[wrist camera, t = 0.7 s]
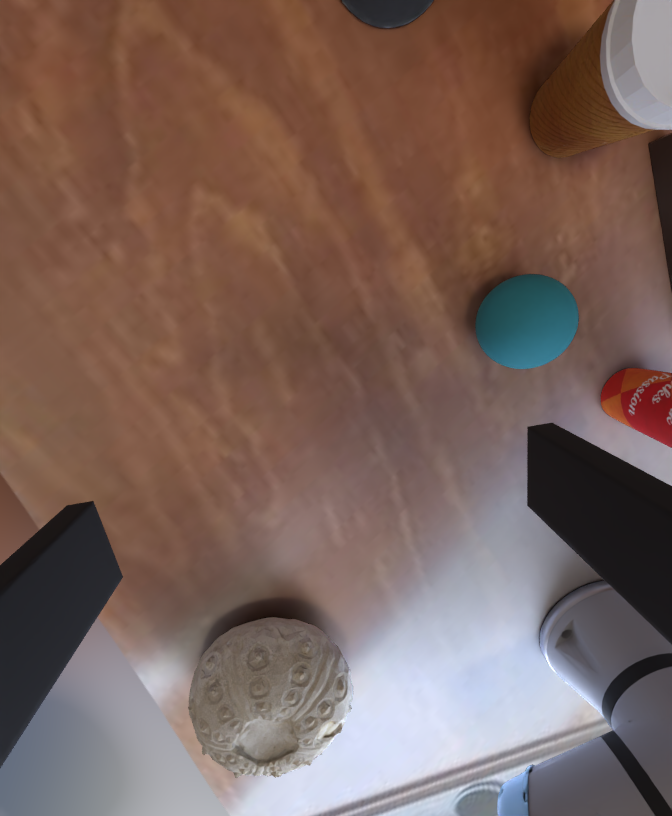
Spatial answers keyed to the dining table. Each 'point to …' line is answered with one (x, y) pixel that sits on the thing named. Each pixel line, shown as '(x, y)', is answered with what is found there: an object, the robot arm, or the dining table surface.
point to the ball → (527, 321)
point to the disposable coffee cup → (609, 82)
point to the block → (664, 188)
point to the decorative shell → (269, 696)
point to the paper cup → (641, 401)
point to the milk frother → (387, 11)
